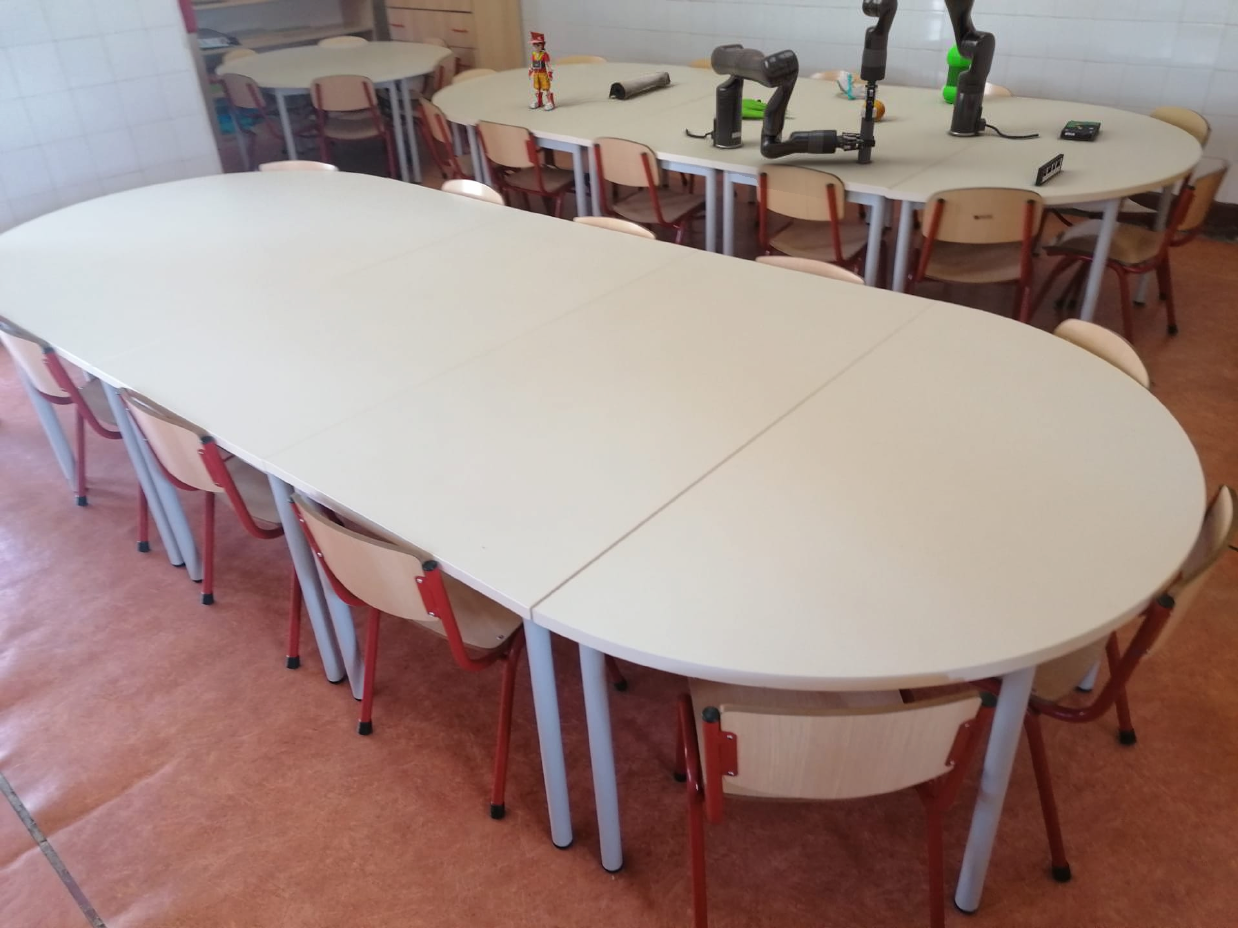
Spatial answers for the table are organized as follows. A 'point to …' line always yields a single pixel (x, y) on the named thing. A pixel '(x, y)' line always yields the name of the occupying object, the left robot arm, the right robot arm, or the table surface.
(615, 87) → the rolled mat
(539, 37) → the toy
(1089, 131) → the disk drive
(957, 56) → the green dumbbell
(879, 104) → the fruit
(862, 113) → the lid
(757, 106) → the toy
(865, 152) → the dark cylinder
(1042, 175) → the midi keyboard
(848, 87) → the anatomical model
